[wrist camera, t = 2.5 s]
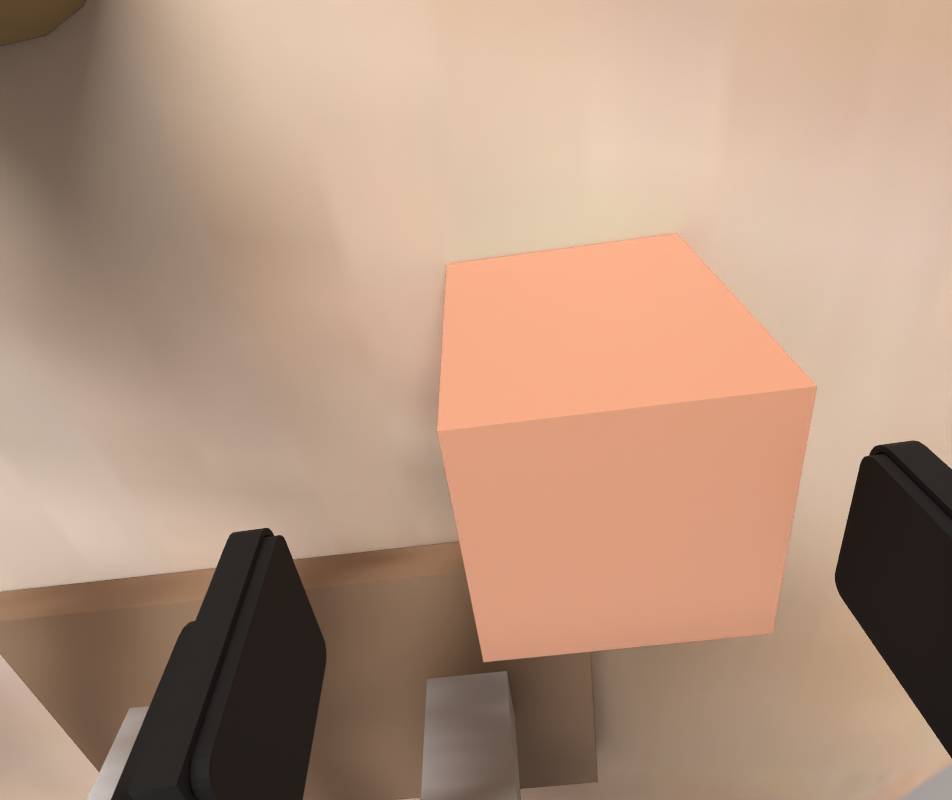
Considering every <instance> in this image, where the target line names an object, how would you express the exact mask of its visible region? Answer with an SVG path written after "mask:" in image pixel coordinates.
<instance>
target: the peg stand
mask: <svg viewBox="0 0 952 800" xmlns="http://www.w3.org/2000/svg"><path fill="white" fill-rule="evenodd" d="M293 561H294V564H295V566H296V569H297V571H298V574H299V576H300V579H301V582H302V584H303V587H304V589H305V592H306V594H307V597H308V599H309V602H310V604H311V607H312V610H313V612H314V615H315V617H316V620H317V622H318V625H319V627H320V630H321V632H322V635H323V638H324V640H325V644H326V653H327V658H326V667H325V673H324V679H323V685H322V691H321V696H320V702H319V708H318V714H317V720H316V726H315V731H314V737H313V743H312V749H311V755H310V761H309V766H308V772H307V778H306V784H305V790H304V796H303V800H398V799H409V798H421V800H521V795H520V789H523V788H534V787H546V786H557V785H568V784H580V783H591V782H598V779H597V761H596V743H595V726H594V708H593V690H592V672H591V655H590V652H581V653H571V654H561V655H551V656H541V657H531V658H521V659H511V660H501V661H491V662H483V657H482V652H481V647H480V642H479V637H478V632H477V627H476V622H475V617H474V612H473V607H472V602H471V597H470V592H469V587H468V582H467V577H466V572H465V567H464V562H463V557H462V552H461V547H460V542H453V543H444V544H435V545H425V546H416V547H407V548H398V549H389V550H380V551H371V552H361V553H352V554H343V555H334V556H325V557H316V558H307V559H297V560H293ZM215 570H216V568H215V569H206V570H197V571H188V572H179V573H170V574H160V575H151V576H142V577H133V578H124V579H115V580H106V581H96V582H87V583H78V584H69V585H60V586H51V587H42V588H32V589H23V590H14V591H5V592H0V654H1V656H2V657H3V658H4V659H5V660H6V662H7V663H8V664H9V665H10V666H11V667H12V669H13V670H14V671H15V672H16V673H17V675H18V676H19V677H20V678H21V679H22V681H23V682H24V683H25V684H26V685H27V687H28V688H29V689H30V690H31V691H32V693H33V694H34V695H35V696H36V697H37V699H38V700H39V701H40V702H41V703H42V705H43V706H44V707H45V708H46V709H47V710H48V712H49V713H50V714H51V715H52V716H53V718H54V719H55V720H56V721H57V722H58V724H59V725H60V726H61V727H62V728H63V730H64V731H65V732H66V733H67V734H68V736H69V737H70V738H71V739H72V740H73V742H74V743H75V744H76V745H77V746H78V747H79V749H80V750H81V751H82V752H83V753H84V755H85V756H86V757H87V758H88V759H89V761H90V762H91V763H92V764H93V765H94V767H95V768H96V769H97V770H98V771H99V775H98V777H97V779H96V781H95V783H94V785H93V788H92V790H91V792H90V794H89V796H88V798H87V800H111V798H112V795H113V793H114V791H115V788H116V786H117V783H118V781H119V779H120V776H121V774H122V771H123V769H124V766H125V764H126V762H127V759H128V757H129V754H130V752H131V750H132V747H133V745H134V742H135V740H136V738H137V735H138V733H139V730H140V728H141V725H142V723H143V721H144V718H145V716H146V713H147V711H148V709H149V706H150V704H151V701H152V699H153V697H154V694H155V692H156V689H157V687H158V684H159V682H160V680H161V677H162V675H163V672H164V670H165V668H166V665H167V663H168V660H169V658H170V656H171V653H172V651H173V648H174V646H175V643H176V641H177V639H178V636H179V635H180V633H181V631H182V629H183V627H185V626H186V625H187V624H188V623H189V622H192V621H195V620H196V618H197V615H198V613H199V610H200V608H201V605H202V603H203V600H204V598H205V595H206V592H207V590H208V587H209V585H210V582H211V580H212V577H213V575H214V572H215Z"/></svg>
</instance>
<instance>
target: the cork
mask: <svg viewBox="0 0 952 800" xmlns="http://www.w3.org/2000/svg"><path fill="white" fill-rule="evenodd" d="M85 1H86V0H0V46H3V45H7V44H11V43H15V42H20V41H24V40H28V39H32V38H37V37H41V36H45V35H47V34H48V33H49V32H51V31H52V30H53V29H55V28H56V27H57V26H58V25H60V24H61V23H62V22H64V21H65V20H66V19H67V18H69V17H70V16H71V15H72V14H74V13H75V12H76V11H78V10H79V9H80V8H81V7H83V5H84V3H85Z"/></svg>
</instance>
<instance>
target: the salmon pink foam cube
mask: <svg viewBox="0 0 952 800" xmlns="http://www.w3.org/2000/svg"><path fill="white" fill-rule="evenodd" d="M816 390H817V385H816V384H815V383H814V382H813V381H812V380H811V379H810V378H809V377H808V376H807V375H806V373H805V372H804V371H803V370H802V369H801V368H800V367H799V366H798V365H797V364H796V362H795V361H794V360H793V359H792V358H791V357H790V356H789V355H788V354H787V353H786V352H785V350H784V349H783V348H782V347H781V346H780V345H779V344H778V343H777V342H776V341H775V339H774V338H773V337H772V336H771V335H770V334H769V333H768V332H767V331H766V330H765V328H764V327H763V326H762V325H761V324H760V323H759V322H758V321H757V320H756V319H755V318H754V316H753V315H752V314H751V313H750V312H749V311H748V310H747V309H746V308H745V307H744V305H743V304H742V303H741V302H740V301H739V300H738V299H737V298H736V297H735V296H734V295H733V293H732V292H731V291H730V290H729V289H728V288H727V287H726V286H725V285H724V284H723V282H722V281H721V280H720V279H719V278H718V277H717V276H716V275H715V274H714V273H713V271H712V270H711V269H710V268H709V267H708V266H707V265H706V264H705V263H704V262H703V261H702V259H701V258H700V257H699V256H698V255H697V254H696V253H695V252H694V251H693V250H692V248H691V247H690V246H689V245H688V244H687V243H686V242H685V241H684V240H683V239H682V238H681V236H680V235H679V234H678V233H677V234H670V235H662V236H655V237H647V238H640V239H632V240H625V241H617V242H610V243H602V244H595V245H587V246H580V247H572V248H565V249H557V250H550V251H542V252H535V253H527V254H519V255H512V256H504V257H497V258H489V259H482V260H474V261H467V262H459V263H452V264H447V268H446V286H445V303H444V321H443V339H442V357H441V375H440V392H439V410H438V428H437V432H438V437H439V442H440V447H441V452H442V457H443V462H444V467H445V472H446V477H447V482H448V487H449V492H450V497H451V502H452V507H453V512H454V517H455V522H456V527H457V532H458V537H459V542H460V547H461V552H462V557H463V562H464V567H465V572H466V577H467V582H468V587H469V592H470V597H471V602H472V607H473V612H474V617H475V622H476V627H477V632H478V637H479V642H480V647H481V652H482V657H483V662H491V661H501V660H511V659H521V658H531V657H541V656H551V655H561V654H571V653H581V652H592V651H602V650H612V649H622V648H632V647H642V646H652V645H662V644H672V643H682V642H693V641H703V640H713V639H723V638H733V637H743V636H753V635H763V634H773V629H774V623H775V618H776V612H777V606H778V601H779V595H780V590H781V584H782V579H783V573H784V567H785V562H786V556H787V551H788V545H789V540H790V534H791V529H792V523H793V517H794V512H795V506H796V501H797V495H798V490H799V484H800V479H801V473H802V467H803V462H804V456H805V451H806V445H807V440H808V434H809V428H810V423H811V417H812V412H813V406H814V401H815V395H816Z"/></svg>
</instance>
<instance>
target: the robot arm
mask: <svg viewBox="0 0 952 800" xmlns="http://www.w3.org/2000/svg"><path fill="white" fill-rule="evenodd" d="M835 583H836V587H837V590H838V592H839V594H840V596H841V598H842V599H843V601H844V602H845V604H846V605H847V606H848V608H849V609H850V611H851V612H852V614H853V615H854V617H855V618H856V620H857V621H858V622H859V624H860V625H861V627H862V628H863V630H864V631H865V633H866V634H867V636H868V637H869V639H870V640H871V641H872V643H873V644H874V646H875V647H876V649H877V650H878V652H879V653H880V655H881V656H882V657H883V659H884V660H885V662H886V663H887V665H888V666H889V668H890V669H891V671H892V672H893V673H894V675H895V676H896V678H897V679H898V681H899V682H900V684H901V685H902V687H903V688H904V689H905V691H906V692H907V694H908V695H909V697H910V698H911V700H912V701H913V703H914V704H915V706H916V707H917V708H918V710H919V711H920V713H921V714H922V716H923V717H924V719H925V720H926V722H927V723H928V724H929V726H930V727H931V729H932V730H933V732H934V733H935V735H936V736H937V738H938V739H939V740H940V742H941V743H942V745H943V746H944V748H945V749H946V751H947V752H948V754H949V755H950V756H951V758H952V469H951V468H950V467H948V466H947V465H946V464H945V463H944V462H943V461H942V460H941V459H940V458H938V457H937V456H936V455H935V454H934V453H933V452H932V451H931V450H929V449H928V448H927V447H926V446H925V445H923V444H922V443H920V442H918V441H906V442H899V443H891V444H884V445H878V446H875V447H874V448H873V449H872V450H871V452H870V455H869V456H866V457H864V458H863V459H862V461H861V463H860V467H859V472H858V476H857V480H856V485H855V489H854V493H853V498H852V502H851V507H850V511H849V515H848V520H847V524H846V528H845V533H844V537H843V541H842V546H841V550H840V554H839V559H838V563H837V567H836V572H835ZM326 658H327V653H326V644H325V640H324V638H323V635H322V632H321V630H320V627H319V625H318V622H317V620H316V617H315V615H314V612H313V610H312V607H311V604H310V602H309V599H308V597H307V594H306V592H305V589H304V587H303V584H302V582H301V579H300V576H299V574H298V571H297V569H296V566H295V564H294V561H293V559H292V556H291V553H290V551H289V548H288V546H287V543H286V541H285V539H284V537H283V536H282V535H278V536H274V535H273V533H272V531H271V530H270V529H269V528H263V529H255V530H248V531H241V532H233V533H232V534H231V535H230V536H229V538H228V540H227V542H226V545H225V547H224V550H223V552H222V555H221V557H220V560H219V562H218V565H217V567H216V570H215V572H214V575H213V577H212V580H211V582H210V585H209V587H208V590H207V592H206V595H205V598H204V600H203V603H202V605H201V608H200V610H199V613H198V615H197V618H196V620H195V621H192V622H189V623H188V624H187V625H186V626H185V627H183V629H182V631H181V633H180V635H179V636H178V639H177V641H176V643H175V646H174V648H173V651H172V653H171V656H170V658H169V660H168V663H167V665H166V668H165V670H164V672H163V675H162V677H161V680H160V682H159V684H158V687H157V689H156V692H155V694H154V697H153V699H152V701H151V704H150V706H149V709H148V711H147V713H146V716H145V718H144V721H143V723H142V725H141V728H140V730H139V733H138V735H137V738H136V740H135V742H134V745H133V747H132V750H131V752H130V754H129V757H128V759H127V762H126V764H125V766H124V769H123V771H122V774H121V776H120V779H119V781H118V783H117V786H116V788H115V791H114V793H113V795H112V798H111V800H303V796H304V790H305V784H306V778H307V772H308V766H309V761H310V755H311V749H312V743H313V737H314V731H315V726H316V720H317V714H318V708H319V702H320V696H321V691H322V685H323V679H324V673H325V667H326Z"/></svg>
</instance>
